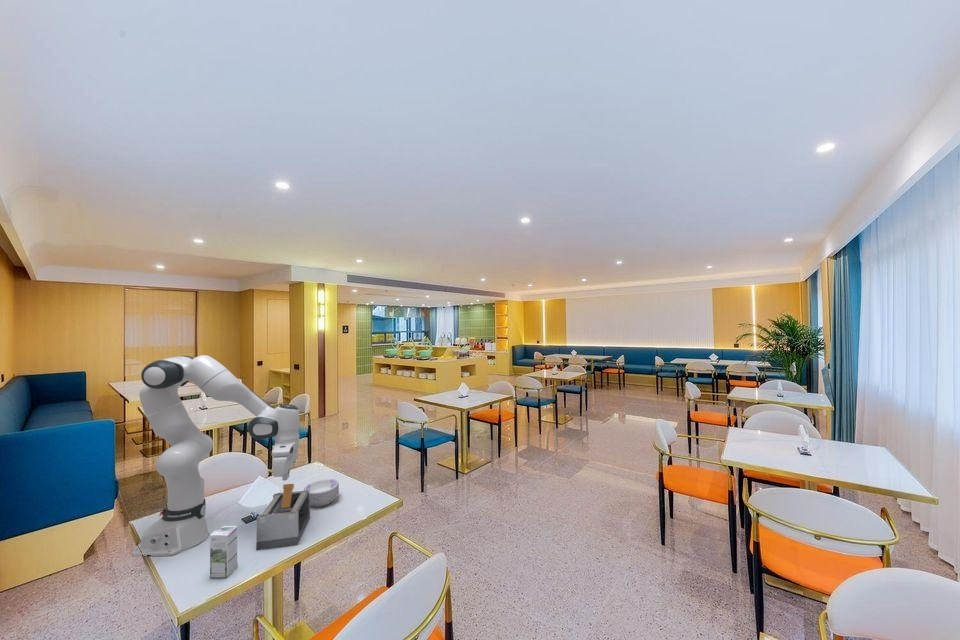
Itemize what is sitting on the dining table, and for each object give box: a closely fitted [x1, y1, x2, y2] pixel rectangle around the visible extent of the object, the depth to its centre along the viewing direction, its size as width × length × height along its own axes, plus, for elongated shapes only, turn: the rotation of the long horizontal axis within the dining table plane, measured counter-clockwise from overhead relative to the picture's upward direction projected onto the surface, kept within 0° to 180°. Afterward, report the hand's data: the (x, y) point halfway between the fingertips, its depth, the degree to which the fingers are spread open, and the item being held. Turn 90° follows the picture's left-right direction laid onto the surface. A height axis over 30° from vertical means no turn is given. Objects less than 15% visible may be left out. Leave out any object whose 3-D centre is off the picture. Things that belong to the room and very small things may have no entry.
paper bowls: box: [303, 478, 340, 508], centre depth 170 cm, size 15×15×8 cm
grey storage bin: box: [255, 490, 311, 551], centre depth 144 cm, size 20×14×12 cm
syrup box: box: [209, 525, 238, 579], centre depth 121 cm, size 6×6×14 cm
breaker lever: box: [279, 483, 295, 513], centre depth 147 cm, size 2×4×10 cm
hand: (285, 479), depth 146 cm, fingers closed
